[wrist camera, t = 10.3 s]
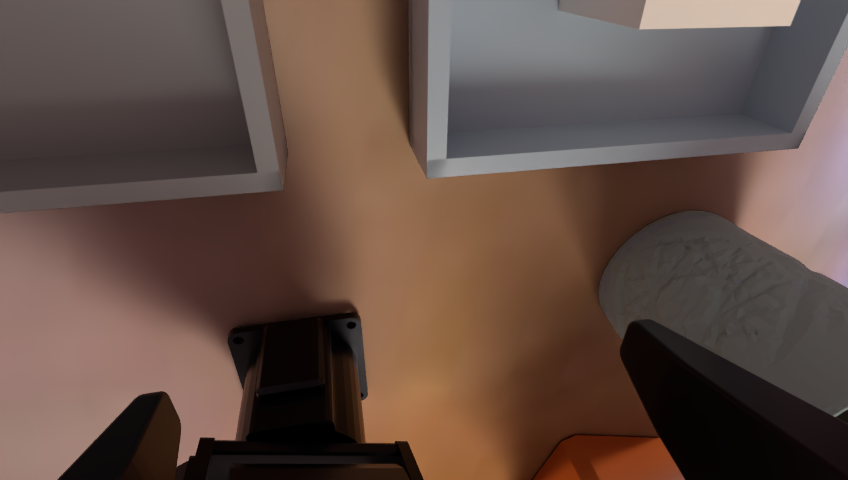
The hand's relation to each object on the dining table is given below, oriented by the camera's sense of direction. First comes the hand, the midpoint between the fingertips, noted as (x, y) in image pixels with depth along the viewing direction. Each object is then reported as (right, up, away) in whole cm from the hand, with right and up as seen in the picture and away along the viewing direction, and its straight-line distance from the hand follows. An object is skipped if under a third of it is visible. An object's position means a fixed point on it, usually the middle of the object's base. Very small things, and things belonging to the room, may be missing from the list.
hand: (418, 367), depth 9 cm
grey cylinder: (+14, +1, +18) cm, 23 cm away
